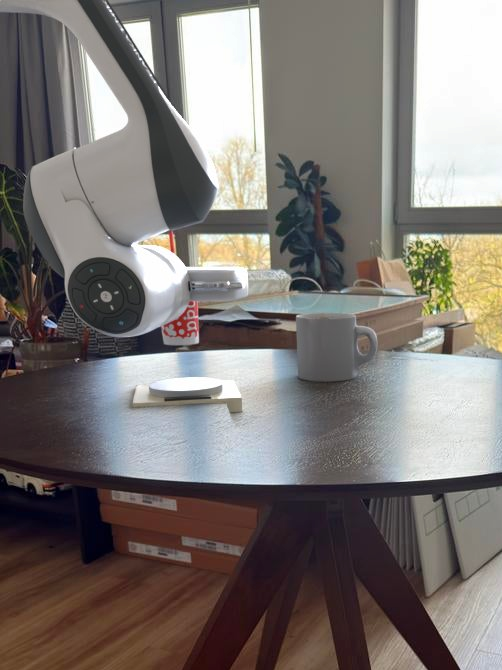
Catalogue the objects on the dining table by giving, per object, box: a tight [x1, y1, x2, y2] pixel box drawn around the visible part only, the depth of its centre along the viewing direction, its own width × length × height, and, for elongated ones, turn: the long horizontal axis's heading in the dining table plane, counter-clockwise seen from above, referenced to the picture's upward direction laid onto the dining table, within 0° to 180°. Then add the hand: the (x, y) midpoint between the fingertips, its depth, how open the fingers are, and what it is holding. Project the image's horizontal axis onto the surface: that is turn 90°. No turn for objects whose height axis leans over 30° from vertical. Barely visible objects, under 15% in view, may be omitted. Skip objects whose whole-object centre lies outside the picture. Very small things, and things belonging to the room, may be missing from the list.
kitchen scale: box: [132, 376, 244, 413], centre depth 101 cm, size 14×13×3 cm
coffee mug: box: [295, 312, 379, 383], centre depth 121 cm, size 13×10×10 cm
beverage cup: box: [160, 230, 200, 346], centre depth 95 cm, size 6×6×14 cm
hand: (176, 280), depth 95 cm, fingers closed on beverage cup, 6 cm apart
